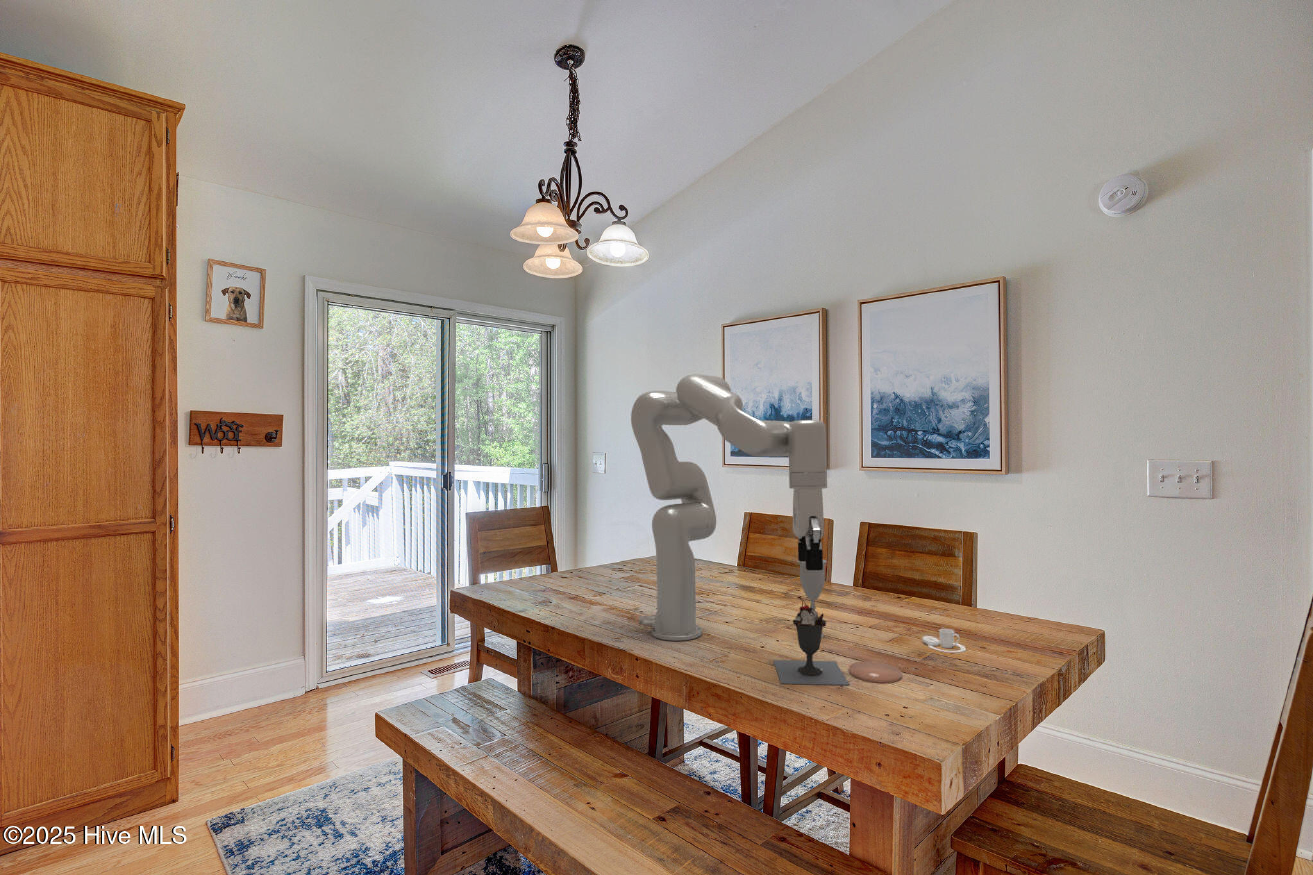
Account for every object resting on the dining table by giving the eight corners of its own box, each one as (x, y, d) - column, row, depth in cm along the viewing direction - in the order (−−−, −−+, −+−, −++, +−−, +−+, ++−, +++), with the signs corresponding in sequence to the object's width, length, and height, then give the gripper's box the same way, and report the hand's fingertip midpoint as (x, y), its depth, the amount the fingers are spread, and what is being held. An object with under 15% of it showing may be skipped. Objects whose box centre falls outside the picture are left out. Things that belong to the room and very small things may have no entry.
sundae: (788, 666, 132) (787, 593, 132) (820, 665, 132) (819, 592, 132) (798, 677, 125) (797, 601, 125) (831, 676, 125) (830, 600, 126)
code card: (780, 684, 123) (780, 682, 123) (773, 660, 135) (773, 659, 135) (849, 685, 122) (849, 684, 122) (835, 662, 135) (835, 660, 135)
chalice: (828, 640, 149) (827, 564, 149) (798, 639, 150) (798, 563, 150) (826, 631, 156) (825, 558, 156) (798, 630, 157) (797, 557, 158)
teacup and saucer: (917, 644, 147) (916, 627, 147) (942, 640, 150) (942, 623, 150) (947, 656, 139) (947, 637, 139) (974, 651, 142) (973, 633, 142)
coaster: (855, 682, 123) (855, 678, 123) (844, 664, 133) (844, 660, 133) (908, 683, 122) (908, 679, 122) (892, 665, 132) (892, 661, 132)
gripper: (783, 479, 138) (785, 558, 137) (795, 483, 120) (797, 573, 120) (819, 478, 137) (821, 558, 137) (835, 482, 120) (838, 573, 120)
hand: (810, 565), depth 128 cm, fingers open, 9 cm apart
